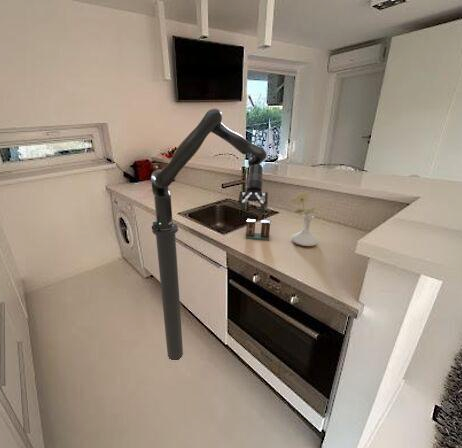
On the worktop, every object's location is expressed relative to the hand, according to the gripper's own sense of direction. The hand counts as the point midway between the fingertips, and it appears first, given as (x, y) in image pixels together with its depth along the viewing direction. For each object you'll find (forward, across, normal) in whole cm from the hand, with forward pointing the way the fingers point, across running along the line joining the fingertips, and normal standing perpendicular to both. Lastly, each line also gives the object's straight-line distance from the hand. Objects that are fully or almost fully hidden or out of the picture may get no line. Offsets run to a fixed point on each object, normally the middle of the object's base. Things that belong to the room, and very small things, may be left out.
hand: (251, 211), depth 122 cm
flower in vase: (+12, +24, +8) cm, 28 cm away
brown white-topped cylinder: (+9, +7, +9) cm, 15 cm away
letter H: (+9, 0, +9) cm, 13 cm away
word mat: (+10, +4, +9) cm, 14 cm away
